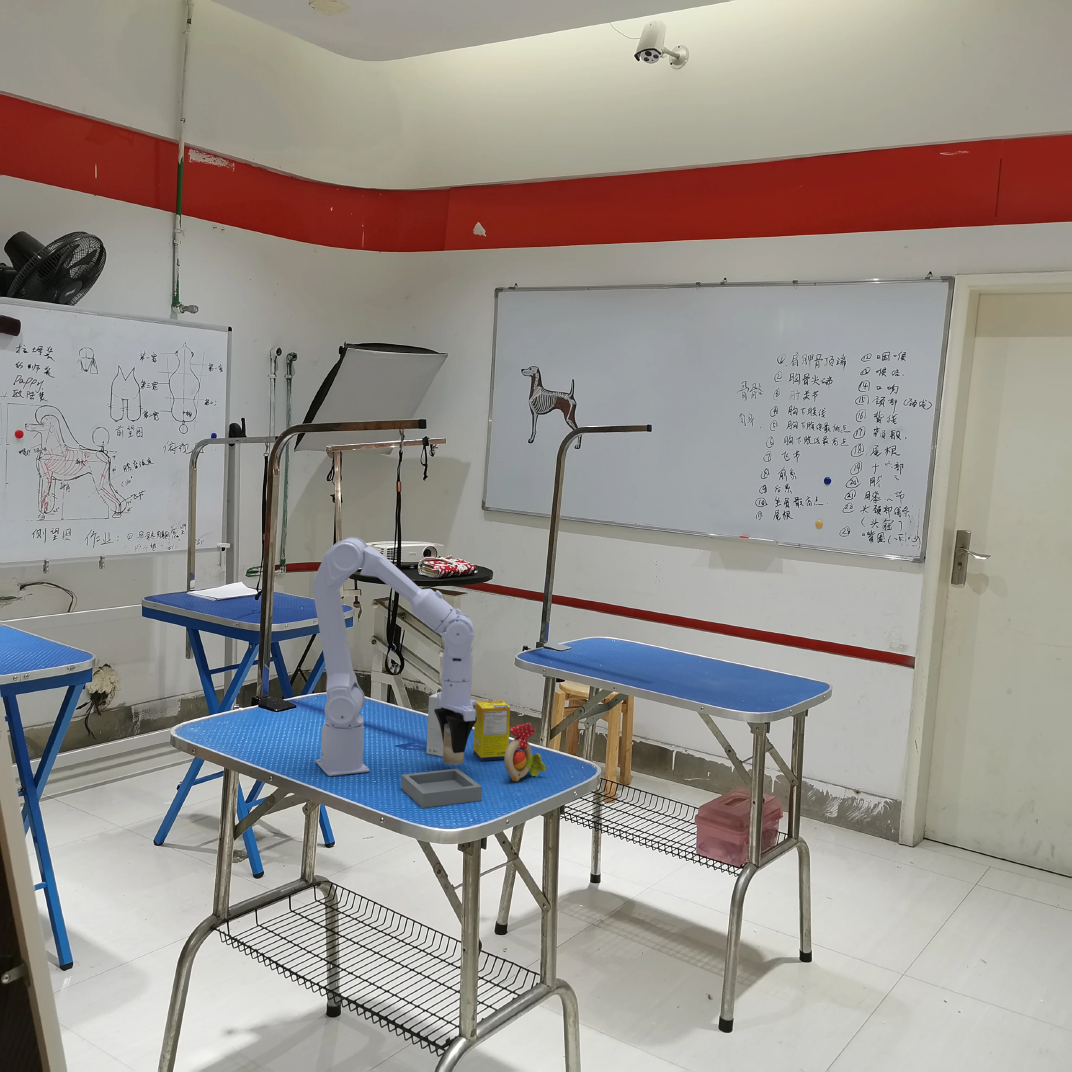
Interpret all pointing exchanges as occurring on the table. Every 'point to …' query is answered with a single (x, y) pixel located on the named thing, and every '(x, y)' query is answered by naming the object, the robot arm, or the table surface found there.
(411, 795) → the tray
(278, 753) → the table surface
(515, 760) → the bird rattle
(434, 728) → the skincare box
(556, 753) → the table surface
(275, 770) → the table surface
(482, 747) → the supplement box
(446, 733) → the cylinder
